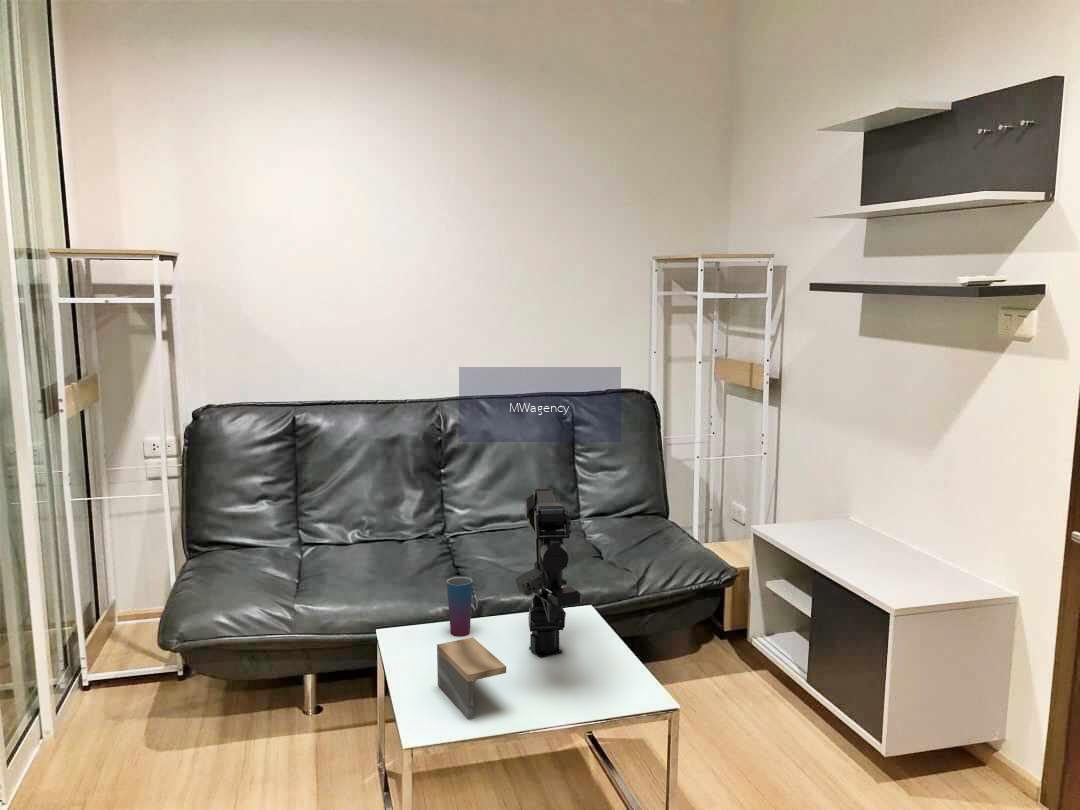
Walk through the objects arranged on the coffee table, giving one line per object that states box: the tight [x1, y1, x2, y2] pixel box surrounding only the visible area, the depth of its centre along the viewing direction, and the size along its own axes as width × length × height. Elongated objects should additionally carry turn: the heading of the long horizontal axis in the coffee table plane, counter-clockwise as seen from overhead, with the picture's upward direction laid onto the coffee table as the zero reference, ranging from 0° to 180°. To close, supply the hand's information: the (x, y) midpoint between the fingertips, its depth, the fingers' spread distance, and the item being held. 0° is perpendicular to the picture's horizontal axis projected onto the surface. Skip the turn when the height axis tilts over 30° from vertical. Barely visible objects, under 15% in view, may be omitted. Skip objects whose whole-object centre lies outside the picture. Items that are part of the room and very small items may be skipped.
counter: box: [436, 636, 507, 721], centre depth 191 cm, size 9×18×10 cm, turn 28°
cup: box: [446, 576, 474, 638], centre depth 226 cm, size 7×7×15 cm
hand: (550, 622), depth 202 cm, fingers closed
